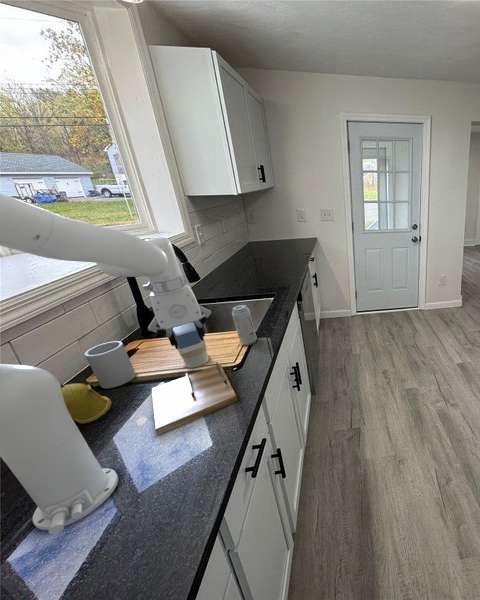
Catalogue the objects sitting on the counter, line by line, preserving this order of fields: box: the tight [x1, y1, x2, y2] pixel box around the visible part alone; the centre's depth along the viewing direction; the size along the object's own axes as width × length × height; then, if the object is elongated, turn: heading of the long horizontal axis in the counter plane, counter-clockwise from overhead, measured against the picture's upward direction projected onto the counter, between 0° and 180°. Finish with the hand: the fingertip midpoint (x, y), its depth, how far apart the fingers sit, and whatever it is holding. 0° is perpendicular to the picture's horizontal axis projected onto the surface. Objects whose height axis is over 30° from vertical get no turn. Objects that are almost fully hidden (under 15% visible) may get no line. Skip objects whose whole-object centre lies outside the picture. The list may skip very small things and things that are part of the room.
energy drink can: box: [231, 304, 258, 346], centre depth 120 cm, size 6×6×15 cm
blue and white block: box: [172, 322, 204, 355], centre depth 90 cm, size 11×6×5 cm, turn 39°
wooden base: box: [151, 361, 238, 436], centre depth 92 cm, size 22×19×4 cm
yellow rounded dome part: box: [60, 382, 112, 425], centre depth 84 cm, size 12×8×15 cm
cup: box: [84, 340, 137, 389], centre depth 102 cm, size 9×9×12 cm
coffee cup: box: [172, 322, 210, 369], centre depth 108 cm, size 9×9×15 cm
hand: (189, 342), depth 91 cm, fingers closed on blue and white block, 5 cm apart
